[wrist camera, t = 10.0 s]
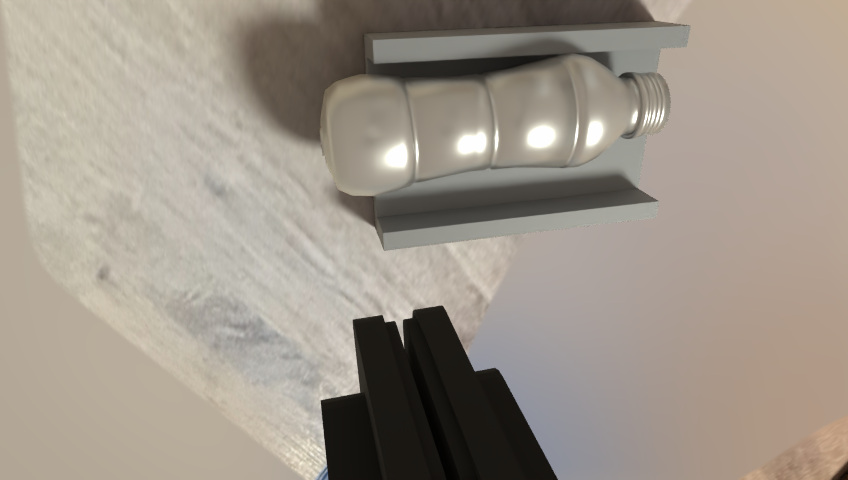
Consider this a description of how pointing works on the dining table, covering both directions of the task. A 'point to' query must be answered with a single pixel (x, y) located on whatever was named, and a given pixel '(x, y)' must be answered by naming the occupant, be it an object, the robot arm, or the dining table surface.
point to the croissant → (845, 477)
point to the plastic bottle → (482, 121)
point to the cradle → (518, 187)
